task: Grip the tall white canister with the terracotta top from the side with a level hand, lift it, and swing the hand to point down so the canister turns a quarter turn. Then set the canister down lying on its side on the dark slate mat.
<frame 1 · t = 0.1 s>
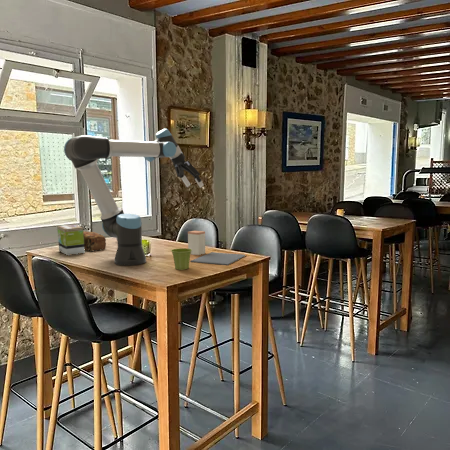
hand: (195, 186, 245), 36 cm above the table, tool tilted 35°, fingers open, 13 cm apart
bread: (89, 249, 249), on the table
slate mat: (219, 258, 217), on the table
plant pot: (181, 269, 197), on the table
spread jar: (125, 242, 272), on the table
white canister: (196, 253, 232), on the table
tea box: (71, 253, 237), on the table
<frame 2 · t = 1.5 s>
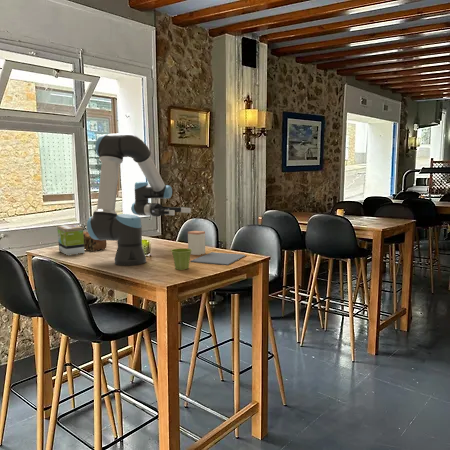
hand: (182, 211, 234), 22 cm above the table, tool horizontal, fingers open, 13 cm apart
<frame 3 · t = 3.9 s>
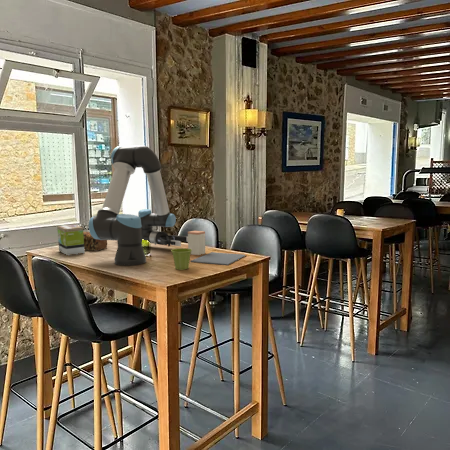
hand: (188, 242, 235), 6 cm above the table, tool horizontal, fingers open, 13 cm apart
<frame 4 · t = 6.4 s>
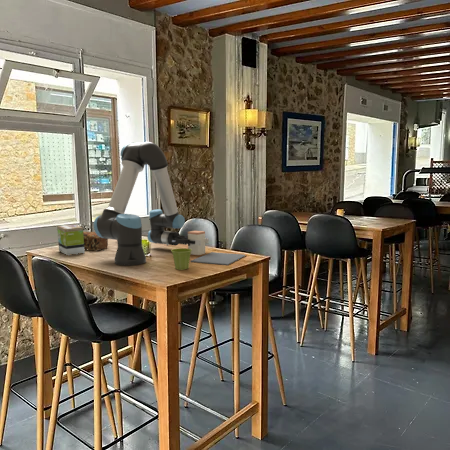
hand: (204, 241, 228), 7 cm above the table, tool horizontal, fingers closed on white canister, 6 cm apart
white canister: (196, 253, 232), on the table, touching gripper
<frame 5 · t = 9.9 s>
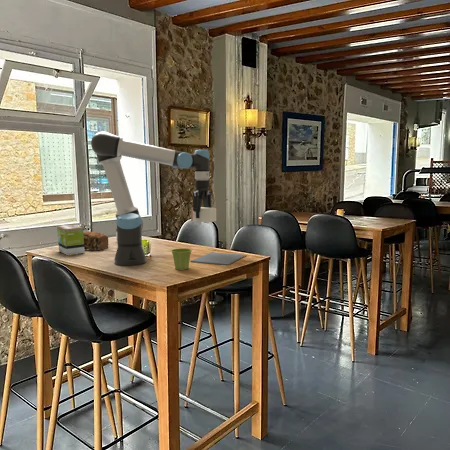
hand: (202, 223, 227), 17 cm above the table, tool pointing down, fingers closed on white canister, 6 cm apart
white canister: (213, 215, 223), point 21 cm above the table, tilted 90°, touching gripper
when the fingers open (2 cm above the table, at t = 14.3 s): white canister drops 3 cm, resting on slate mat.
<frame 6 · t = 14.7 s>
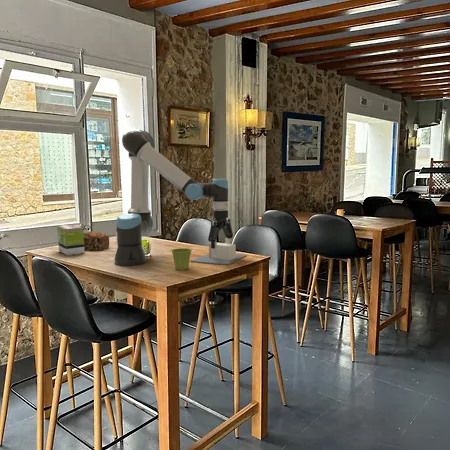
hand: (221, 252, 217), 3 cm above the table, tool pointing down, fingers open, 11 cm apart
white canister: (232, 252, 213), point 4 cm above the table, tilted 90°, touching slate mat
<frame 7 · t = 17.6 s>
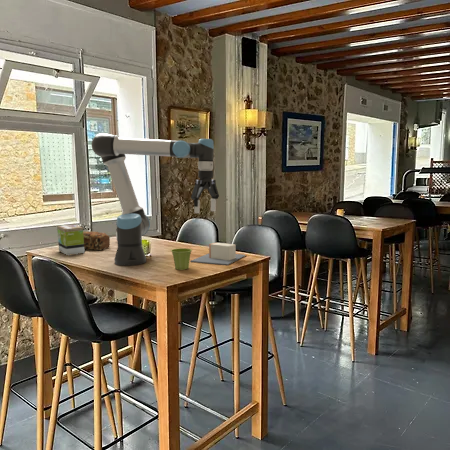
hand: (205, 212, 219), 23 cm above the table, tool pointing down, fingers open, 13 cm apart
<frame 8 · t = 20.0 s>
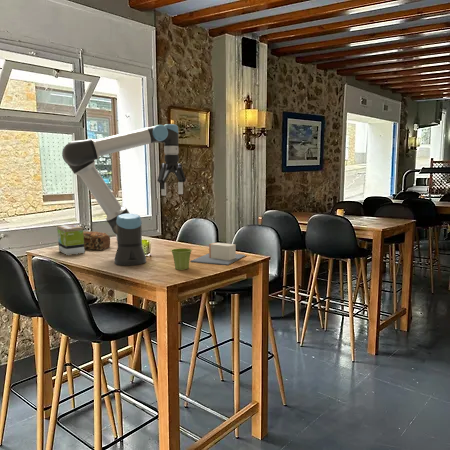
hand: (172, 194, 229), 32 cm above the table, tool pointing down, fingers open, 13 cm apart
at the end: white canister tilted 90°; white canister inside the target area on the slate mat (7.8 cm from its centre), point 4.1 cm above the slate mat's base; the gripper is holding nothing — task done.
